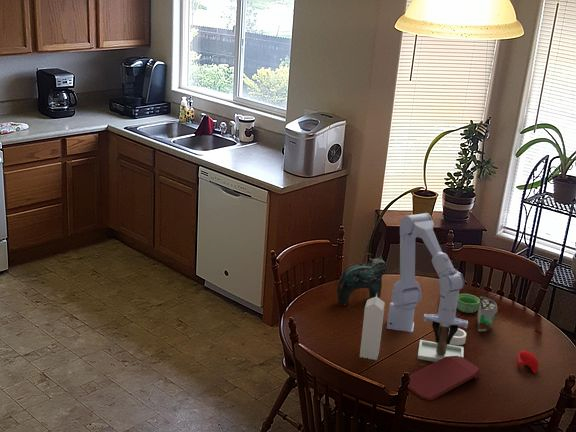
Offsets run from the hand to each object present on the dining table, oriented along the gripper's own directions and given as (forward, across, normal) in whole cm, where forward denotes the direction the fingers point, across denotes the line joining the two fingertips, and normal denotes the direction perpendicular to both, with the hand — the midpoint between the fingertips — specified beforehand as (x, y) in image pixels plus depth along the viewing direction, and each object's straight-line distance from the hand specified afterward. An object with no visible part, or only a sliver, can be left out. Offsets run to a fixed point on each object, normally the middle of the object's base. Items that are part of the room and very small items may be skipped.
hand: (442, 342), depth 240 cm
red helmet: (+5, +28, +2) cm, 29 cm away
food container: (+5, +16, +26) cm, 31 cm away
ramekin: (+5, +8, +40) cm, 42 cm away
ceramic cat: (+5, -32, +32) cm, 46 cm away
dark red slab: (+6, +1, -16) cm, 17 cm away
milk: (+5, -24, -8) cm, 25 cm away
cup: (+5, +4, +12) cm, 14 cm away
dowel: (+4, 0, 0) cm, 4 cm away
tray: (+5, 0, 0) cm, 5 cm away
